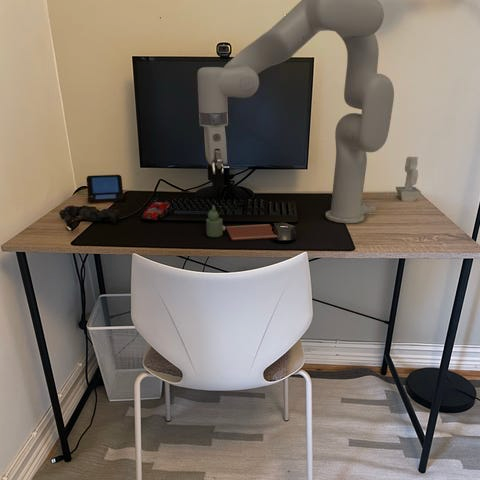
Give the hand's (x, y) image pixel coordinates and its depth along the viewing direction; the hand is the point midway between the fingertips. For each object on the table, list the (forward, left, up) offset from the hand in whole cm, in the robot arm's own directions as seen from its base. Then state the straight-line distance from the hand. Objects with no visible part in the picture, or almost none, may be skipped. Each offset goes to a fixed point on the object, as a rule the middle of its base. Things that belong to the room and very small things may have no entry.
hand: (215, 184), depth 137 cm
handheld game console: (+35, -45, -15) cm, 58 cm away
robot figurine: (+39, -20, -15) cm, 46 cm away
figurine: (-74, -27, -15) cm, 80 cm away
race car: (+17, -21, -15) cm, 30 cm away
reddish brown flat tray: (-10, 0, -15) cm, 18 cm away
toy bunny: (+1, 0, -15) cm, 15 cm away
